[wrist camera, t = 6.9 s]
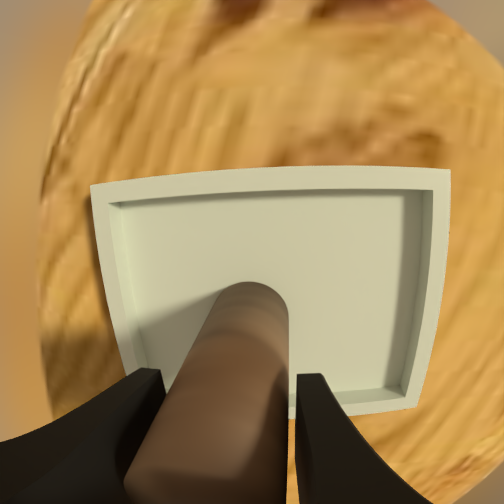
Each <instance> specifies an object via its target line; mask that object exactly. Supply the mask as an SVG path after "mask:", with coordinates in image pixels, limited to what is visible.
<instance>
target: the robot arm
mask: <svg viewBox="0 0 504 504" xmlns="http://www.w3.org/2000/svg"><path fill="white" fill-rule="evenodd" d="M166 395H167V394H166V390H165V386H164V382H163V378H162V374H161V370H160V369H152V368H142V367H141V368H139V369H137V370H136V371H134V372H132V373H131V374H129V375H128V376H126V377H125V378H123V379H122V380H120V381H119V382H117V383H116V384H114V385H113V386H111V387H110V388H108V389H107V390H105V391H103V392H102V393H100V394H99V395H97V396H96V397H94V398H93V399H91V400H90V401H88V402H86V403H85V404H83V405H81V406H80V407H78V408H76V409H74V410H73V411H71V412H69V413H67V414H66V415H64V416H62V417H60V418H59V419H57V420H55V421H53V422H51V423H49V424H47V425H45V426H43V427H41V428H38V429H36V430H34V431H31V432H29V433H27V434H24V435H22V436H19V437H16V438H13V439H10V440H6V441H3V442H0V504H135V503H134V502H133V501H132V500H131V499H130V497H129V496H128V495H127V493H126V491H125V488H124V478H125V476H126V474H127V472H128V470H129V468H130V466H131V464H132V462H133V460H134V458H135V456H136V454H137V452H138V450H139V448H140V446H141V444H142V442H143V440H144V438H145V436H146V434H147V432H148V430H149V428H150V426H151V424H152V422H153V420H154V418H155V416H156V415H157V413H158V411H159V409H160V407H161V405H162V403H163V401H164V399H165V397H166ZM295 464H296V474H297V484H298V493H299V503H300V504H433V503H431V502H430V501H429V500H427V499H426V498H424V497H423V496H422V495H420V494H419V493H418V492H417V491H416V490H414V489H413V488H412V487H411V486H410V485H409V484H407V483H406V482H405V481H404V480H403V479H402V478H401V477H400V476H399V475H398V474H396V473H395V472H394V471H393V470H392V469H391V468H390V467H389V466H388V465H387V464H386V463H385V462H384V461H383V459H382V458H381V457H380V456H379V455H378V454H377V453H376V452H375V451H374V449H373V448H372V447H371V446H370V445H369V444H368V442H367V441H366V440H365V439H364V438H363V436H362V435H361V434H360V432H359V431H358V430H357V428H356V427H355V426H354V424H353V423H352V422H351V420H350V419H349V417H348V416H347V415H346V413H345V412H344V410H343V409H342V407H341V406H340V404H339V403H338V401H337V399H336V398H335V396H334V394H333V393H332V391H331V389H330V387H329V386H328V384H327V382H326V380H325V377H324V376H323V375H322V374H321V373H304V374H297V379H296V415H295Z"/></svg>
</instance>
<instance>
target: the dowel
mask: <svg viewBox="0 0 504 504" xmlns="http://www.w3.org/2000/svg"><path fill="white" fill-rule="evenodd" d="M288 422H289V315H288V309H287V306H286V303H285V302H284V300H283V298H282V297H281V296H280V295H279V294H278V293H277V292H276V291H275V290H274V289H272V288H271V287H269V286H267V285H265V284H262V283H258V282H250V281H247V282H239V283H236V284H233V285H231V286H229V287H227V288H226V289H225V290H223V291H222V292H221V293H220V295H219V296H218V297H217V299H216V301H215V303H214V305H213V306H212V308H211V310H210V312H209V314H208V316H207V318H206V320H205V322H204V324H203V326H202V328H201V329H200V331H199V333H198V335H197V337H196V339H195V341H194V343H193V345H192V347H191V349H190V351H189V352H188V354H187V356H186V358H185V360H184V362H183V364H182V366H181V368H180V370H179V372H178V374H177V376H176V378H175V380H174V381H173V383H172V385H171V387H170V389H169V391H168V393H167V395H166V397H165V399H164V401H163V403H162V405H161V407H160V409H159V411H158V413H157V415H156V416H155V418H154V420H153V422H152V424H151V426H150V428H149V430H148V432H147V434H146V436H145V438H144V440H143V442H142V444H141V446H140V448H139V450H138V452H137V454H136V456H135V458H134V460H133V462H132V464H131V466H130V468H129V470H128V472H127V474H126V476H125V478H124V488H125V491H126V493H127V495H128V496H129V497H130V499H131V500H132V501H133V502H134V503H135V504H286V492H287V464H288Z"/></svg>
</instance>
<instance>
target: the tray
mask: <svg viewBox="0 0 504 504" xmlns="http://www.w3.org/2000/svg"><path fill="white" fill-rule="evenodd" d="M90 190H91V201H92V210H93V219H94V227H95V234H96V241H97V248H98V254H99V260H100V266H101V272H102V277H103V283H104V288H105V293H106V298H107V302H108V307H109V311H110V316H111V320H112V324H113V329H114V333H115V337H116V340H117V344H118V348H119V352H120V355H121V359H122V362H123V366H124V369H125V373H126V376H128V375H129V374H131V373H132V372H134V371H136V370H137V369H139V368H141V367H142V368H152V369H160V370H161V374H162V378H163V382H164V386H165V390H166V394H167V393H168V391H169V389H170V387H171V385H172V383H173V381H174V380H175V378H176V376H177V374H178V372H179V370H180V368H181V366H182V364H183V362H184V360H185V358H186V356H187V354H188V352H189V351H190V349H191V347H192V345H193V343H194V341H195V339H196V337H197V335H198V333H199V331H200V329H201V328H202V326H203V324H204V322H205V320H206V318H207V316H208V314H209V312H210V310H211V308H212V306H213V305H214V303H215V301H216V299H217V297H218V296H219V295H220V293H221V292H222V291H223V290H225V289H226V288H227V287H229V286H231V285H233V284H236V283H239V282H247V281H250V282H258V283H262V284H265V285H267V286H269V287H271V288H272V289H274V290H275V291H276V292H277V293H278V294H279V295H280V296H281V297H282V298H283V300H284V302H285V303H286V306H287V309H288V315H289V419H295V415H296V379H297V374H304V373H321V374H322V375H323V376H324V377H325V380H326V382H327V384H328V386H329V387H330V389H331V391H332V393H333V394H334V396H335V398H336V399H337V401H338V403H339V404H340V406H341V407H342V409H343V410H344V412H345V413H346V415H347V416H353V415H363V414H372V413H380V412H388V411H395V410H401V409H408V408H413V407H417V404H418V400H419V397H420V394H421V390H422V387H423V383H424V380H425V376H426V372H427V368H428V364H429V360H430V356H431V352H432V347H433V343H434V338H435V333H436V328H437V323H438V318H439V312H440V306H441V300H442V293H443V286H444V279H445V271H446V262H447V251H448V239H449V223H450V190H451V179H450V170H448V169H434V168H416V167H391V166H291V167H266V168H247V169H231V170H217V171H205V172H193V173H183V174H173V175H163V176H154V177H146V178H138V179H130V180H123V181H115V182H108V183H102V184H95V185H90Z"/></svg>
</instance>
